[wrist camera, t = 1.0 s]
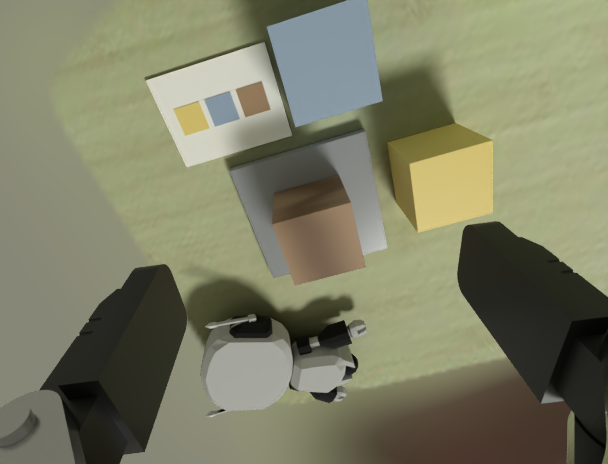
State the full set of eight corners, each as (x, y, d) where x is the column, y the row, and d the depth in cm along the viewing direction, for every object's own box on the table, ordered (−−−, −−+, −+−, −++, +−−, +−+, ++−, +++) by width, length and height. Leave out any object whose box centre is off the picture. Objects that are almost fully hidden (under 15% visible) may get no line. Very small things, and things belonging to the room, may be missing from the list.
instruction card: (264, 41, 21) (264, 41, 21) (292, 135, 24) (292, 135, 24) (146, 80, 22) (145, 80, 21) (187, 166, 25) (186, 167, 24)
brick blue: (348, 4, 20) (366, -6, 16) (363, 90, 23) (382, 101, 18) (269, 30, 21) (266, 26, 16) (292, 111, 23) (295, 127, 19)
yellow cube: (454, 122, 24) (492, 140, 20) (458, 185, 27) (492, 212, 22) (386, 142, 25) (409, 163, 20) (395, 202, 27) (418, 232, 23)
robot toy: (363, 297, 33) (204, 294, 30) (378, 331, 29) (197, 331, 26) (339, 379, 39) (205, 383, 36) (349, 417, 35) (199, 424, 32)
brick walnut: (338, 174, 25) (350, 202, 20) (352, 231, 27) (365, 267, 23) (273, 192, 25) (272, 224, 21) (292, 247, 28) (295, 285, 23)
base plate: (363, 128, 24) (365, 131, 23) (384, 243, 29) (387, 248, 28) (231, 167, 25) (229, 171, 24) (273, 272, 30) (273, 278, 29)
